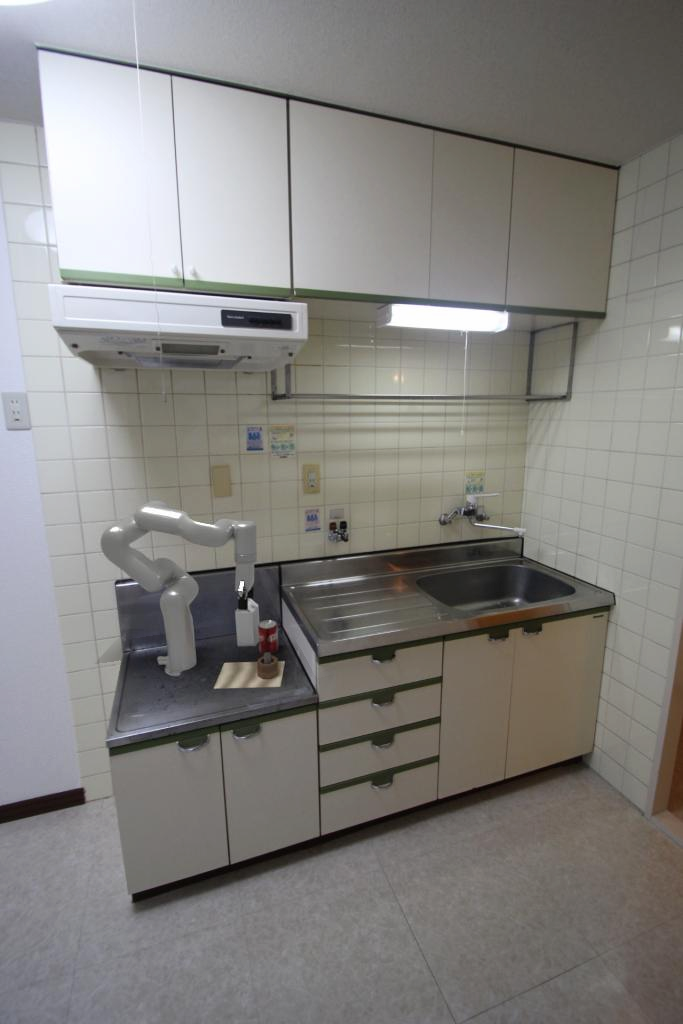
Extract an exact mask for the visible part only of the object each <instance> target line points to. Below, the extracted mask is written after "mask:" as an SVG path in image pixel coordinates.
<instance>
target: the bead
mask: <svg viewBox="0 0 683 1024" xmlns="http://www.w3.org/2000/svg"><path fill="white" fill-rule="evenodd" d="M278 661H279V658H278V657H276V656H275V655H272V654H271V663H270V664H264V655H263V656H261V657H259V658H257V661H256V662H257V672H258V677H260V678H261V679H272V678H274V677H276V676H278Z"/></svg>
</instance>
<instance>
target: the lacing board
mask: <svg viewBox="0 0 683 1024" xmlns="http://www.w3.org/2000/svg"><path fill="white" fill-rule="evenodd" d="M271 655H272V654H271V653H269V652H266V653H264V654H263V656H264V664H270V663H271ZM285 662H286V661H285V660H280V661H279V660H278V676H276V677H274V678H272V679H261V678H260V677H258V672H257V661H247V662H246V661H242V662H236V661H235V662H224V663H223V665H222V668H221V670H220V672H219V675H218V678H217V679H216V682H215V684H214V687H213V689H214V690H216V689H251V688H253V689H254V688H256V689H257V688H280V687H281V686H282V679H283V674H284V668H285V665H286V664H285Z"/></svg>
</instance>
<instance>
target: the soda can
mask: <svg viewBox="0 0 683 1024" xmlns="http://www.w3.org/2000/svg"><path fill="white" fill-rule="evenodd" d="M278 634H279V632H278V623H277V622H276V621H274V620H271V619H268V620H263V621H260V623H259V625H258V635H259V642H258V649H259V653H261V654H263V655H264V653H266V652H269V653H271V655H272V654H275V653H277V652H278V651H279V635H278Z"/></svg>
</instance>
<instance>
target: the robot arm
mask: <svg viewBox="0 0 683 1024" xmlns="http://www.w3.org/2000/svg"><path fill="white" fill-rule="evenodd" d="M188 514H189V513H187V512H186V511H184V510H181V509H180V510H179V509H175V508H171V507H170V508H169V505H168V504H166V503H165V502H163V501H160V500H152V501H149V502H147V503H145V504H142V505H140V506H139V507H138V508H137V509H136V510H135V511H134V513H133V514H131V515H129V516H128V517H126V518H124V519H122V520H119V521H117V522H115V523H113V524H111V525H110V526H109V527H107V528H106V529H105V530H104V531H103V533H102V535H101V538H100V548H101V551H102V554H103V555H104V557H105V558H106V559H107V560H108V561H110V562H111V564H113V565H115V566H116V567H117V568H119V569H120V570H122V571H123V572H124V573H125V574H126V575H127V576H128V577H129V578H131V579H132V580H133V581H134V582H136V583H137V584H138V585H139V586H140V587H142V588H143V589H144V590H145V591H147V592H149V593H155V592H158V591H160V590H161V589H162V588H163V587H165V588H166V589H165V590H164V591H163V592H162V594H161V596H160V599H159V607H160V611H161V613H162V618H163V624H164V631H165V638H166V640H165V641H166V650H167V655H166V656H161V655H160V656H159V655H158V656H157V662H158V665H159V666H162V665H164V672H165V674H167V676H170V677H177V678H178V677H179V676H180V675H181V673H182V672H183V671H187V670H188V671H189V670H190V669H192V668H193V667H195V666H196V665H197V663H198V662H197V652H196V640H195V631H194V629H195V628H194V620H193V614H192V613H191V609H190V604H192V602H193V601H194V600H195V599H196V597H197V596H198V594H199V589H200V588H199V584H198V582H197V581H196V580H195V579H194V578H193V576H192V575H190V574H189V572H186V570H184V569H183V568H182V567H180V565H178V564H177V563H176V562H175V561H173V560H172V559H170V558H166V557H157V558H156V559H153V560H151V559H150V558H149V557H147V556H146V555H145V553H143V552H141V551H140V550H138V549H136V548H133V547H131V546H130V544H131V543H132V544H133V542H136V541H137V540H139V539H141V538H142V537H144V536H145V535H147V534H148V533H150V532H151V531H152V532H158V533H164V534H167V535H174V536H178V537H180V538H182V539H183V540H185V541H187V542H189V543H191V544H195V545H199V546H202V547H208V548H222V547H224V546H225V545H226V544H228V542H229V541H231V540H233V557H234V558H233V559H234V560H233V561H234V563H235V564H236V566H235V573H234V574H235V575H234V576H235V579H234V590H235V592H237V593H238V596H237V609H239V610H247V609H248V598H251V599H253V598H254V597H255V596H254V594H255V593H254V591H255V590H254V583H255V563H257V561H258V560H257V554H258V553H257V524H256V523H255V522H254V521H252V520H237V519H236V520H235V519H232V518H231V519H230V518H221V519H218V520H217V521H216V522H214V523H213V524H209V523H204V522H203V523H202V522H199V521H195V520H194V519H191V518H190V517H189V515H188Z"/></svg>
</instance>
